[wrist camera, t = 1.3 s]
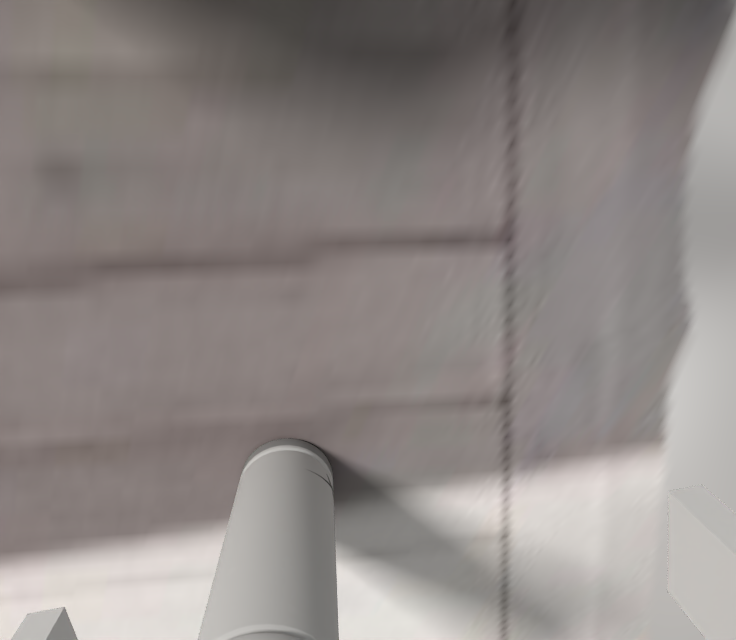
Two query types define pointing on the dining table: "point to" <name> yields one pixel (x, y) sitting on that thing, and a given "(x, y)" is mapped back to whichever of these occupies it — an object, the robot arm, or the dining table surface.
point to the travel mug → (278, 551)
